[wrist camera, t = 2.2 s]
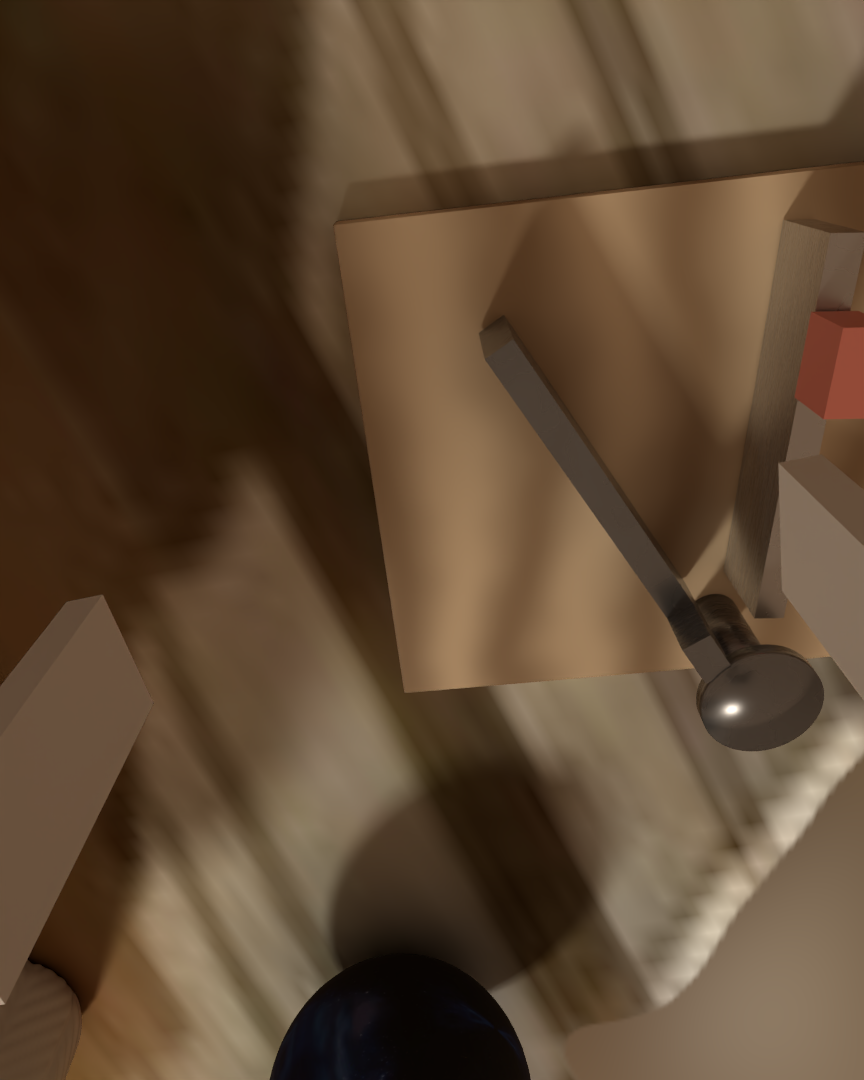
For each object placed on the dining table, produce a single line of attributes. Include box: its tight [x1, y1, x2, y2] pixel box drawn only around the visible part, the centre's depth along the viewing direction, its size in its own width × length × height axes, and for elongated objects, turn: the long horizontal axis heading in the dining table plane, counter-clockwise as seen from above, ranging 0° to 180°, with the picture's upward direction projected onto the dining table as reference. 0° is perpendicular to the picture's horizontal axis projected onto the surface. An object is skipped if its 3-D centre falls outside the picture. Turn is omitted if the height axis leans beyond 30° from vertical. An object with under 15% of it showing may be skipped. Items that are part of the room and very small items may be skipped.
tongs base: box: [696, 219, 864, 655], centre depth 32 cm, size 19×3×5 cm, turn 1°
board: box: [333, 161, 864, 693], centre depth 35 cm, size 26×22×1 cm
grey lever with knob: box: [479, 315, 824, 751], centre depth 32 cm, size 20×5×6 cm, turn 36°
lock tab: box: [795, 311, 864, 419], centre depth 27 cm, size 3×2×2 cm, turn 1°
